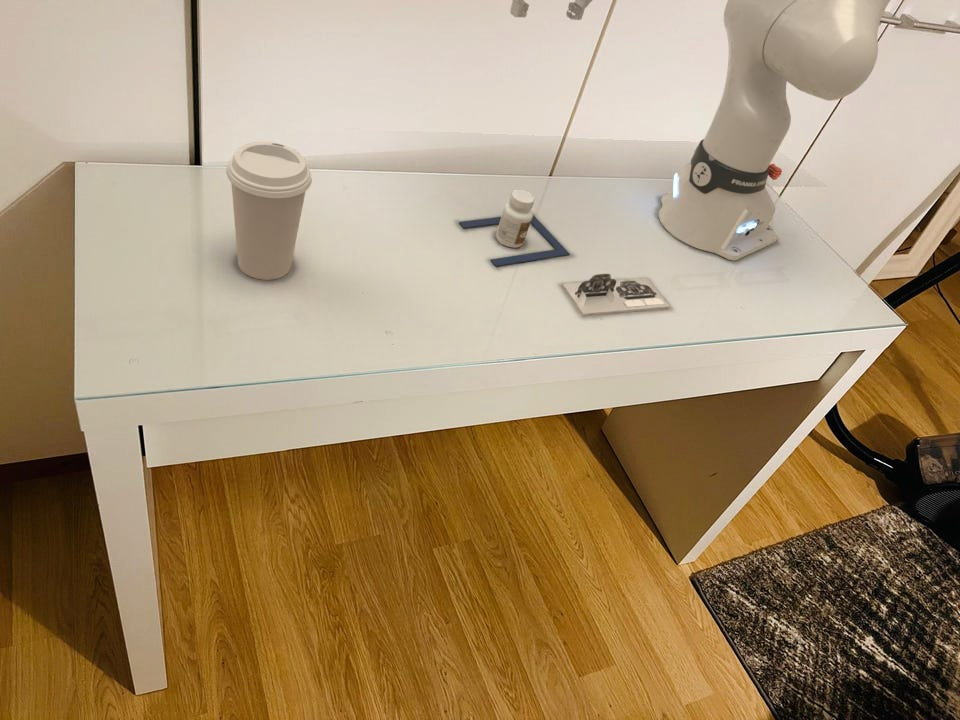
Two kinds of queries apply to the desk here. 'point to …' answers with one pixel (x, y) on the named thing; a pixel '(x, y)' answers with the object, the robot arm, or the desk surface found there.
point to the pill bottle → (515, 219)
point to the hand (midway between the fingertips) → (546, 17)
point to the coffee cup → (267, 206)
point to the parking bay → (522, 258)
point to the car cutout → (614, 295)
